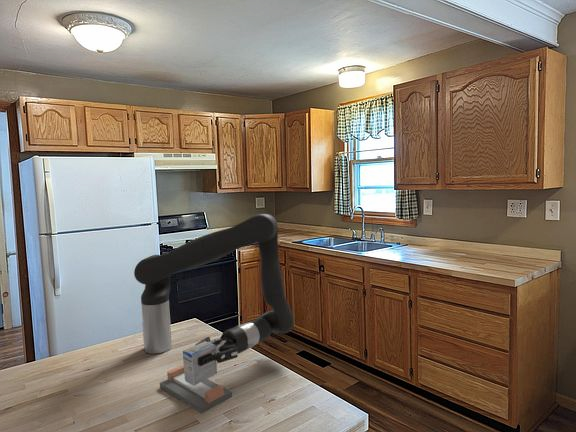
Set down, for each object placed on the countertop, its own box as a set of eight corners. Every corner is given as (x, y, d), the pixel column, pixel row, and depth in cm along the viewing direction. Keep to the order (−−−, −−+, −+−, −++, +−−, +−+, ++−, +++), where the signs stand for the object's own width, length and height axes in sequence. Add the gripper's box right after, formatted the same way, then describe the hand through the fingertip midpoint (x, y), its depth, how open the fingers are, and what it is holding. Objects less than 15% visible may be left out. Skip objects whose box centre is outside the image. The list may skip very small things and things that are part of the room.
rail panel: (160, 387, 114) (159, 374, 114) (189, 374, 121) (188, 362, 121) (201, 413, 101) (200, 399, 100) (231, 396, 108) (231, 382, 108)
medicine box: (207, 369, 113) (205, 340, 112) (217, 373, 110) (215, 344, 109) (184, 381, 107) (181, 350, 106) (194, 386, 104) (192, 354, 103)
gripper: (224, 321, 123) (176, 339, 111) (256, 331, 114) (208, 353, 101) (226, 344, 124) (178, 365, 111) (258, 356, 115) (210, 381, 102)
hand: (193, 359), depth 106 cm, fingers closed on medicine box, 4 cm apart
